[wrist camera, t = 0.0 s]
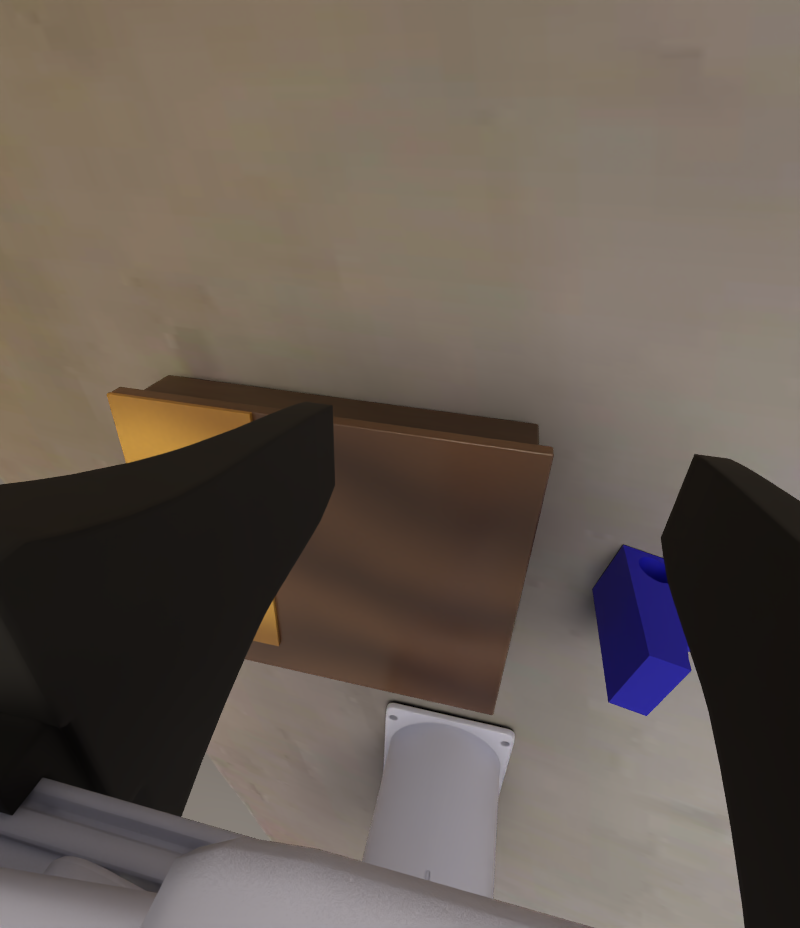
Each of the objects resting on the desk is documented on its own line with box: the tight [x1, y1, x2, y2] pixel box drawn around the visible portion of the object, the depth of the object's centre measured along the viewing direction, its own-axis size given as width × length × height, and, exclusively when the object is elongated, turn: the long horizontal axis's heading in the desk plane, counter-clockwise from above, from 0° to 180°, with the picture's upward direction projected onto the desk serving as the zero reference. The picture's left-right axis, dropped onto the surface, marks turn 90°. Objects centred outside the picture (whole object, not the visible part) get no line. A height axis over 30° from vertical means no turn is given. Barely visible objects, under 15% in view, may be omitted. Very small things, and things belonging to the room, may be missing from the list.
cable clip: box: [592, 545, 691, 716], centre depth 20 cm, size 12×4×6 cm, turn 75°
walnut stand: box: [107, 375, 554, 715], centre depth 24 cm, size 15×17×4 cm
